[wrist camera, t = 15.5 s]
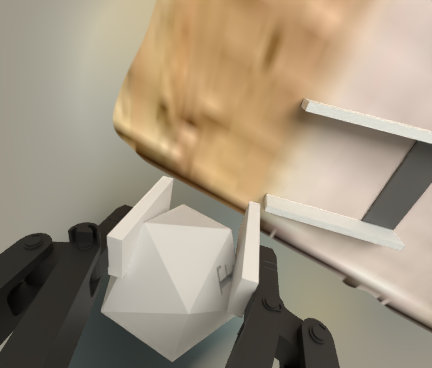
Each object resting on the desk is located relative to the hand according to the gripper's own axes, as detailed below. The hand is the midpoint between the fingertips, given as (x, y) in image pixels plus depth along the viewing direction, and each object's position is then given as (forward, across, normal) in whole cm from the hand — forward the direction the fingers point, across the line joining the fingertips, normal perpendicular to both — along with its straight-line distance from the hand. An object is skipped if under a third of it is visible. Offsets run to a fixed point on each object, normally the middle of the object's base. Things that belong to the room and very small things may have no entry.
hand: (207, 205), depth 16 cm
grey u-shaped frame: (+17, -16, 0) cm, 23 cm away
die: (+1, 0, +3) cm, 3 cm away
